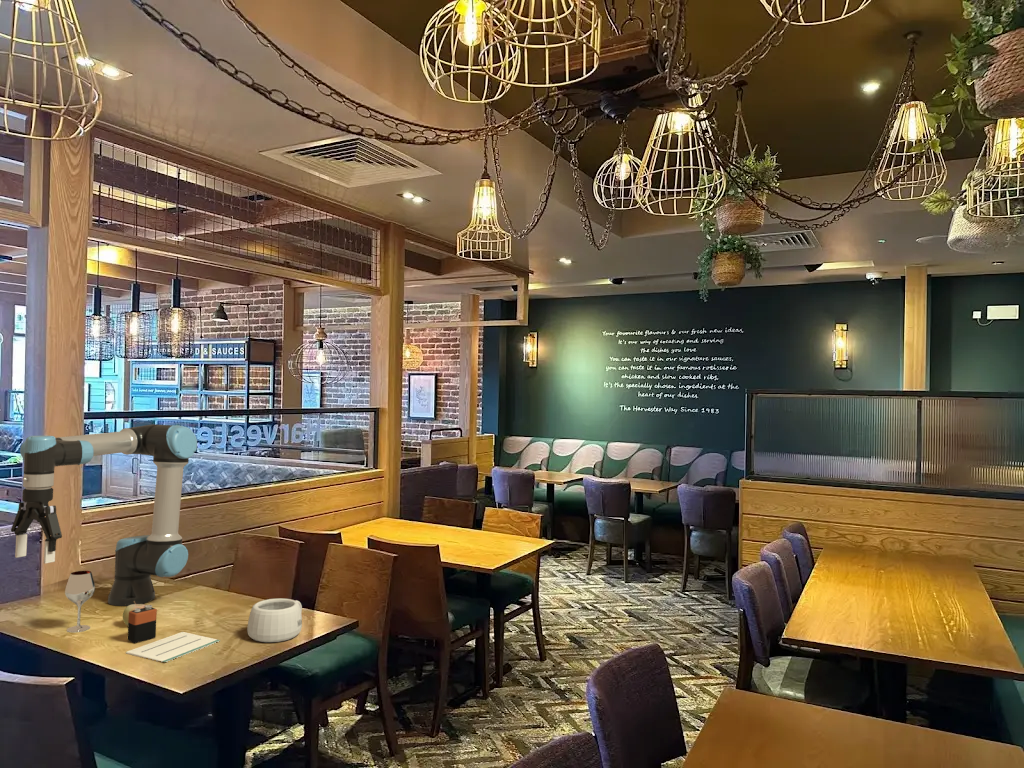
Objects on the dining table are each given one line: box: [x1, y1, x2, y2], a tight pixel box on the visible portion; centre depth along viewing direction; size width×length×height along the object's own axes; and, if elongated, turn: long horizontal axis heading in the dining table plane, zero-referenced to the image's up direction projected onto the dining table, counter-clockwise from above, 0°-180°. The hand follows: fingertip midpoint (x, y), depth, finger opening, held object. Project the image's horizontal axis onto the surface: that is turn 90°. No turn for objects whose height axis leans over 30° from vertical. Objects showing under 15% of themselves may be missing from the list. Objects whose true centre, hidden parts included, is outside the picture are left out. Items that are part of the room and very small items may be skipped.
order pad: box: [125, 631, 221, 663], centre depth 207 cm, size 20×16×1 cm
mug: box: [246, 598, 303, 643], centre depth 223 cm, size 21×17×10 cm
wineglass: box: [64, 570, 96, 633], centre depth 220 cm, size 8×8×18 cm
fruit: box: [122, 601, 146, 626], centre depth 225 cm, size 8×7×8 cm
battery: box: [127, 604, 158, 644], centre depth 213 cm, size 4×7×10 cm, turn 146°
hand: (34, 559), depth 203 cm, fingers open, 13 cm apart
